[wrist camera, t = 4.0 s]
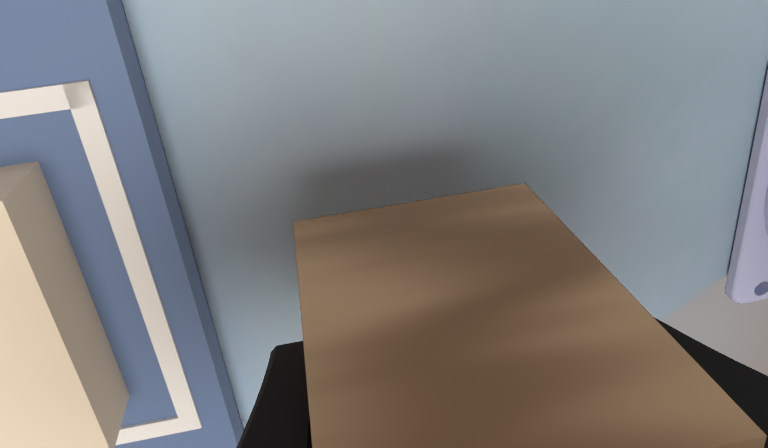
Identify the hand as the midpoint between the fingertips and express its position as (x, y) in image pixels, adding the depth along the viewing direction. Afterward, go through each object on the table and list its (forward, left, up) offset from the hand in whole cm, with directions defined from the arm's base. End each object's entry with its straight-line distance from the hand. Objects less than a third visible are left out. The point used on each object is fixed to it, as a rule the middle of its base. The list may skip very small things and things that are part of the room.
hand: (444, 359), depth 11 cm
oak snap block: (0, 0, -2) cm, 2 cm away
